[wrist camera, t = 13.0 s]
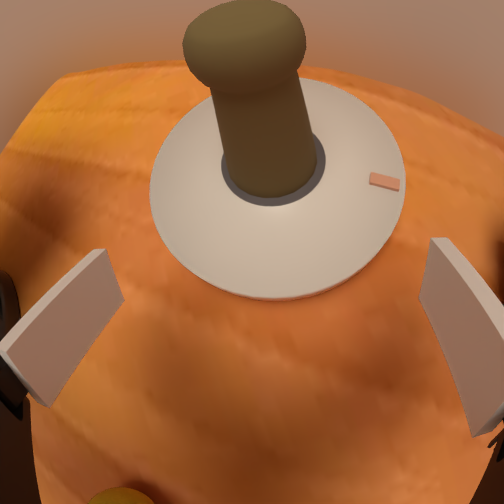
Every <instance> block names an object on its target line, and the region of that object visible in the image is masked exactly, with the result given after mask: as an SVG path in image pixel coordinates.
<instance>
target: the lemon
mask: <svg viewBox="0 0 504 504" xmlns="http://www.w3.org/2000/svg"><path fill="white" fill-rule="evenodd" d="M88 504H155V503H154V502H153V501H152V500H151V499H150V498H149V497H148V496H146V495H145V494H143V493H141V492H140V491H137V490H135V489H132V488H126V487H115V488H109V489H106V490H104V491H102V492H100V493H98V494H97V495H95V496H94V497H93V498H92V499H91V500H90V501H89V503H88Z"/></svg>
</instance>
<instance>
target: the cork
mask: <svg viewBox="0 0 504 504" xmlns="http://www.w3.org/2000/svg"><path fill="white" fill-rule="evenodd" d="M182 44H183V52H184V57H185V60H186V63H187V65H188V67H189V69H190V71H191V72H192V73H193V74H194V75H195V77H196V78H197V79H198V80H199V81H201V82H202V83H203V84H204V85H205V86H207V87H210V90H211V95H212V100H213V104H214V109H215V114H216V119H217V123H218V128H219V133H220V137H221V142H222V147H223V151H224V156H225V160H226V165H227V169H228V172H229V175H230V179H231V180H232V181H233V182H234V183H235V185H236V186H237V187H238V188H239V189H241V190H243V191H244V192H246V193H248V194H249V195H253V196H257V197H261V198H278V197H282V196H285V195H288V194H291V193H294V192H296V191H297V190H298V189H300V188H301V187H303V186H304V185H306V184H307V182H308V181H309V180H310V178H311V177H312V176H313V174H314V172H315V168H316V165H317V154H316V148H315V143H314V138H313V134H312V129H311V125H310V121H309V116H308V112H307V108H306V104H305V100H304V96H303V92H302V88H301V84H300V80H299V77H298V73H297V69H298V68H299V67H300V65H301V63H302V60H303V58H304V54H305V50H306V36H305V32H304V28H303V25H302V23H301V21H300V19H299V18H298V16H297V15H296V14H295V13H294V12H293V11H292V10H291V9H289V8H288V7H287V6H286V5H283V4H281V3H278V2H275V1H271V0H236V1H231V2H227V3H224V4H220V5H218V6H216V7H213V8H211V9H209V10H207V11H205V12H204V13H202V14H200V15H199V16H198V17H197V18H196V19H195V20H194V21H193V22H192V23H191V24H190V25H189V26H188V28H187V30H186V32H185V36H184V39H183V43H182Z"/></svg>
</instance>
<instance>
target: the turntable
mask: <svg viewBox="0 0 504 504" xmlns="http://www.w3.org/2000/svg"><path fill="white" fill-rule="evenodd" d="M299 80H300V84H301V88H302V92H303V96H304V100H305V104H306V108H307V112H308V116H309V121H310V125H311V129H312V134H313V138H314V143H315V148H316V154H317V165H316V168H315V172H314V174H313V176H312V177H311V178H310V180H309V181H308V182H307V184H306V185H304V186H303V187H301V188H300V189H298V190H297V191H296V192H294V193H291V194H288V195H285V196H282V197H278V198H261V197H257V196H253V195H249V194H248V193H246V192H244V191H243V190H241V189H239V188H238V187H237V186H236V185H235V183H234V182H233V181H232V180H231V179H230V175H229V172H228V169H227V165H226V160H225V156H224V151H223V147H222V142H221V137H220V133H219V128H218V123H217V119H216V114H215V109H214V104H213V100H212V96H210V97H208V98H207V99H205V100H204V101H202V102H201V103H199V104H198V105H196V106H195V107H194V108H193V109H192V110H190V111H189V112H188V113H187V114H186V115H185V116H184V117H183V118H182V119H181V120H180V121H179V122H178V123H177V124H176V125H175V127H174V128H173V129H172V131H171V132H170V133H169V135H168V136H167V138H166V139H165V141H164V143H163V144H162V146H161V148H160V150H159V153H158V155H157V157H156V160H155V163H154V166H153V170H152V174H151V181H150V205H151V212H152V216H153V219H154V222H155V226H156V228H157V230H158V232H159V234H160V237H161V239H162V241H163V242H164V243H165V245H166V246H167V248H168V249H169V251H170V252H171V253H172V254H173V255H174V257H175V258H176V259H177V260H178V261H179V262H180V263H181V264H182V265H183V266H185V267H186V268H187V269H189V270H190V271H191V272H193V273H194V274H195V275H197V276H198V277H200V278H201V279H203V280H205V281H206V282H208V283H210V284H211V285H213V286H215V287H217V288H219V289H221V290H223V291H226V292H228V293H231V294H234V295H237V296H240V297H245V298H249V299H254V300H263V301H287V300H297V299H301V298H306V297H311V296H314V295H317V294H320V293H323V292H326V291H328V290H331V289H333V288H335V287H336V286H338V285H340V284H342V283H344V282H346V281H347V280H349V279H350V278H352V277H353V276H354V275H356V274H357V273H358V272H360V271H361V270H362V269H363V268H364V267H365V266H366V265H367V264H368V263H369V262H370V261H371V260H372V259H373V258H374V257H375V255H376V254H377V253H378V252H379V250H380V249H381V248H382V246H383V245H384V244H385V242H386V241H387V239H388V238H389V237H390V235H391V233H392V232H393V230H394V228H395V226H396V224H397V222H398V220H399V216H400V213H401V210H402V207H403V203H404V196H405V189H406V183H405V169H404V164H403V159H402V156H401V153H400V150H399V147H398V145H397V143H396V141H395V139H394V137H393V135H392V133H391V131H390V130H389V129H388V127H387V126H386V124H385V123H384V122H383V120H382V119H381V118H380V117H379V116H378V115H377V114H376V113H375V112H374V111H373V110H372V109H371V108H370V107H368V106H367V105H366V104H365V103H364V102H362V101H361V100H359V99H358V98H356V97H355V96H353V95H351V94H350V93H348V92H346V91H344V90H342V89H340V88H337V87H335V86H332V85H329V84H327V83H323V82H319V81H316V80H311V79H305V78H299Z"/></svg>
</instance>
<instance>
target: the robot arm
mask: <svg viewBox="0 0 504 504" xmlns="http://www.w3.org/2000/svg"><path fill="white" fill-rule="evenodd" d="M419 300H420V302H421V304H422V307H423V309H424V311H425V313H426V315H427V317H428V319H429V321H430V324H431V326H432V328H433V330H434V332H435V335H436V337H437V339H438V342H439V344H440V346H441V349H442V351H443V353H444V356H445V358H446V361H447V363H448V366H449V369H450V371H451V374H452V376H453V379H454V382H455V385H456V387H457V390H458V393H459V396H460V399H461V402H462V405H463V408H464V411H465V414H466V418H467V421H468V424H469V428H470V431H471V435H472V438H474V437H477V436H480V435H482V434H485V433H488V432H491V431H493V429H494V428H495V427H496V426H497V425H498V424H499V423H500V422H501V421H502V420H503V423H504V304H502V303H501V302H500V301H499V299H498V298H497V297H496V295H495V294H494V293H493V291H492V290H491V289H490V287H489V286H488V285H487V284H486V282H485V281H484V280H483V278H482V277H481V276H480V275H479V273H478V272H477V271H476V270H475V269H474V267H473V266H472V265H471V264H470V263H469V261H468V260H467V259H466V258H465V257H464V256H463V255H462V253H461V252H460V251H459V250H458V249H457V248H456V247H455V246H454V244H453V243H452V242H451V241H450V240H449V239H448V238H431V239H430V245H429V251H428V256H427V262H426V267H425V272H424V277H423V281H422V286H421V290H420V294H419ZM124 301H125V300H124V298H123V295H122V292H121V290H120V287H119V285H118V282H117V279H116V276H115V274H114V271H113V268H112V265H111V262H110V259H109V256H108V253H107V250H106V249H93V250H92V251H91V252H90V253H89V254H88V255H87V256H85V257H84V258H83V259H82V260H81V261H80V262H79V263H78V264H76V265H75V266H74V267H73V268H72V269H71V270H70V271H69V272H68V273H67V274H65V275H64V276H63V277H62V278H61V279H60V280H59V281H58V282H57V283H56V284H55V285H54V286H53V287H52V288H51V289H50V290H49V291H48V292H47V293H46V294H45V295H44V296H43V297H42V298H41V299H40V300H39V301H38V302H37V303H36V304H35V305H34V306H33V307H32V308H31V309H30V310H29V311H28V312H27V313H26V314H25V315H24V316H23V317H22V318H21V319H20V314H19V305H18V299H17V295H16V291H15V288H14V285H13V282H12V280H11V278H10V277H9V275H8V274H7V273H6V272H4V271H2V270H0V504H41V500H40V495H39V490H38V484H37V478H36V472H35V465H34V457H33V447H32V435H31V417H30V401H29V399H28V398H27V397H26V395H27V393H28V392H29V393H30V394H31V395H32V397H33V398H34V399H35V400H36V401H37V402H38V403H40V404H42V405H44V406H46V407H48V408H50V407H51V406H52V404H53V402H54V401H55V399H56V398H57V396H58V395H59V393H60V391H61V390H62V388H63V387H64V385H65V384H66V382H67V381H68V379H69V378H70V376H71V375H72V373H73V372H74V370H75V369H76V367H77V366H78V364H79V363H80V361H81V360H82V358H83V357H84V355H85V354H86V353H87V351H88V350H89V348H90V347H91V345H92V344H93V343H94V341H95V340H96V338H97V337H98V336H99V334H100V333H101V331H102V330H103V329H104V327H105V326H106V325H107V323H108V322H109V321H110V319H111V318H112V317H113V315H114V314H115V312H116V311H117V310H118V308H119V307H120V306H121V305H122V303H123V302H124ZM496 442H497V444H496V446H495V448H494V449H493V450H494V452H493V454H492V457H491V459H490V461H489V464H488V466H487V469H486V471H485V473H484V475H483V477H482V480H481V482H480V484H479V486H478V488H477V490H476V492H475V494H474V496H473V498H472V499H471V501H470V503H469V504H504V429H503V430H502V431H501V432H500V433H499V434H498V435H497V436H496V437H495V438H494V439H493V440H492V441H491V442H490V443H489V445H488V448H491V447H492V446H493V445H494V444H495V443H496Z"/></svg>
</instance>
